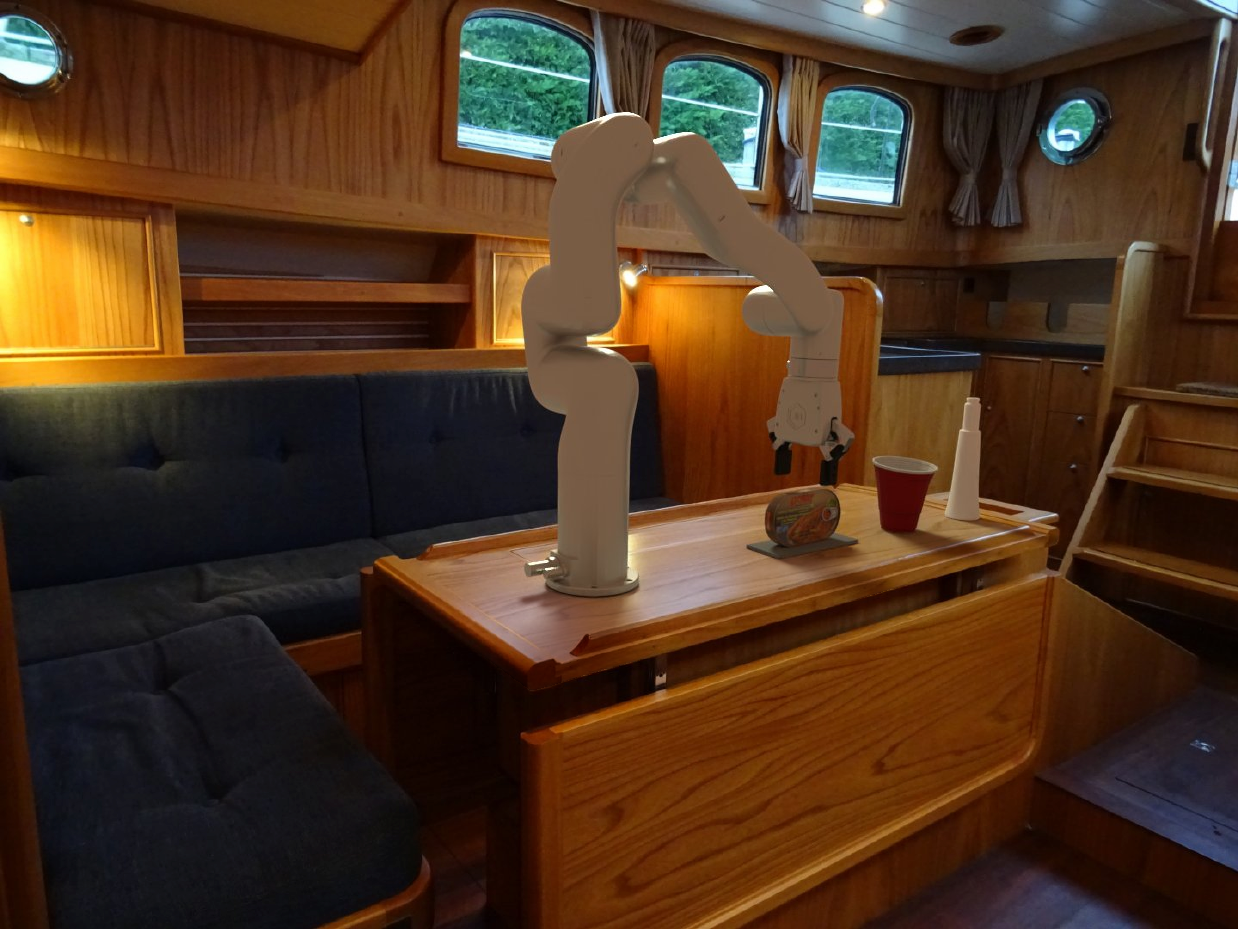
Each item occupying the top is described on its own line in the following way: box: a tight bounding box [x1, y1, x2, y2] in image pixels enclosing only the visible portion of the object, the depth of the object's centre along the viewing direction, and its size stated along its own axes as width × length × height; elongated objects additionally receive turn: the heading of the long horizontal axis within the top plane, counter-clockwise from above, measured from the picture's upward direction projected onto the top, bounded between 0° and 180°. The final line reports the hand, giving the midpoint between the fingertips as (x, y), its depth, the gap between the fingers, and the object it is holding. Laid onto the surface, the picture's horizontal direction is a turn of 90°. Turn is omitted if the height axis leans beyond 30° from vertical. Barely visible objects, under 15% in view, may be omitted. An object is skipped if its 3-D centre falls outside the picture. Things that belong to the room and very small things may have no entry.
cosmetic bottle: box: [944, 397, 982, 522], centre depth 155 cm, size 6×6×22 cm
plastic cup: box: [871, 455, 939, 534], centre depth 146 cm, size 11×11×12 cm
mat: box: [745, 531, 859, 560], centre depth 136 cm, size 18×7×1 cm, turn 124°
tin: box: [764, 487, 841, 547], centre depth 136 cm, size 15×3×8 cm, turn 124°
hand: (804, 479), depth 134 cm, fingers open, 9 cm apart
